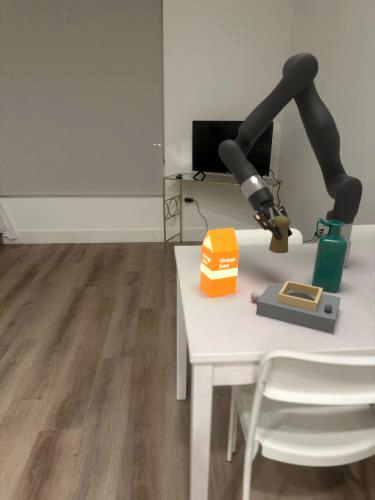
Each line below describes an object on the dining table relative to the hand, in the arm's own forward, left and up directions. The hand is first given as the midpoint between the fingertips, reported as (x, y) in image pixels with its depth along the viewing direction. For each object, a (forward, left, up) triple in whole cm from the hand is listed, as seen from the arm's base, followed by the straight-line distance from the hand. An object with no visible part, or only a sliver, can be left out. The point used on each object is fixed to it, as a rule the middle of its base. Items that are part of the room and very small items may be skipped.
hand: (285, 237), depth 112 cm
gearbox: (+7, +15, -16) cm, 23 cm away
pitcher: (-13, +5, -17) cm, 22 cm away
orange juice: (+21, -4, -17) cm, 27 cm away
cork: (+1, -2, -5) cm, 5 cm away
